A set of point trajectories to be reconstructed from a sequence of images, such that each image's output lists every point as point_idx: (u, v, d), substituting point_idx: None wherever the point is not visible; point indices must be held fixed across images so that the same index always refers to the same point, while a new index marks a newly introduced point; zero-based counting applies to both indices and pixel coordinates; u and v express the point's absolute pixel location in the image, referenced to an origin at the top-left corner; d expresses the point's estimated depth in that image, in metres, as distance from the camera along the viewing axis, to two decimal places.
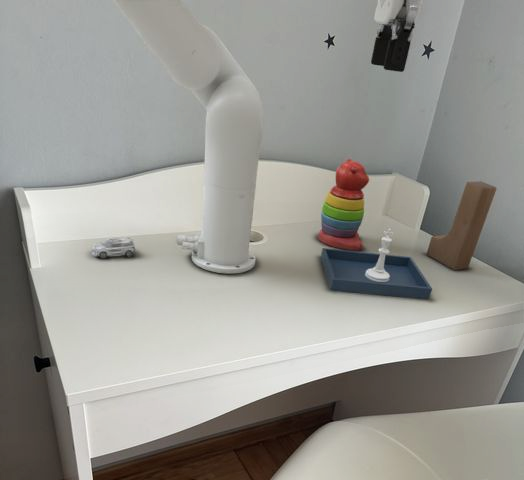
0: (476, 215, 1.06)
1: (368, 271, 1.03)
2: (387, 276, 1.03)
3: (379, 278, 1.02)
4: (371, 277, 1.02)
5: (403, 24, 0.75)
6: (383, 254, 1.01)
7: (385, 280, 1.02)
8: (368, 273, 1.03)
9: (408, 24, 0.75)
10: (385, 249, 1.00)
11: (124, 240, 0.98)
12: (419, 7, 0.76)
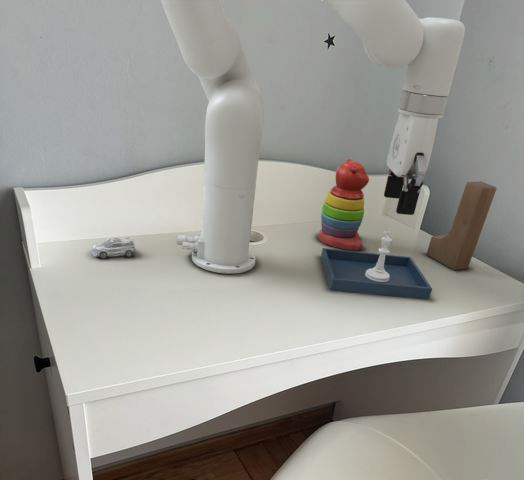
0: (476, 215, 1.06)
1: (368, 271, 1.03)
2: (387, 276, 1.03)
3: (379, 278, 1.02)
4: (371, 277, 1.02)
5: (413, 183, 0.86)
6: (383, 254, 1.01)
7: (385, 280, 1.02)
8: (368, 273, 1.03)
9: (417, 183, 0.86)
10: (385, 249, 1.00)
11: (124, 240, 0.98)
12: (427, 165, 0.88)
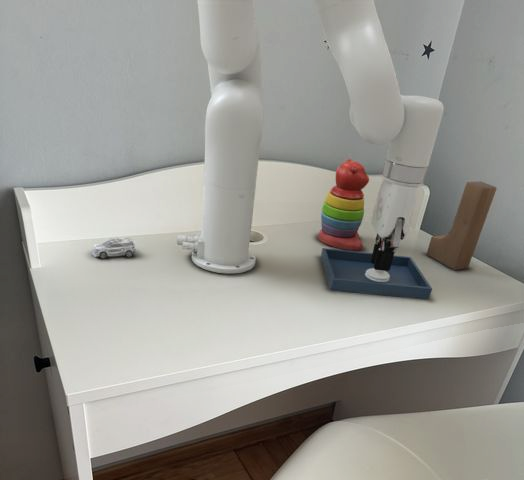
0: (476, 215, 1.06)
1: (368, 271, 1.03)
2: (387, 276, 1.03)
3: (379, 278, 1.02)
4: (371, 277, 1.02)
5: (387, 246, 0.96)
6: None
7: (385, 280, 1.02)
8: (368, 273, 1.03)
9: None
10: None
11: (124, 240, 0.98)
12: (407, 229, 0.94)
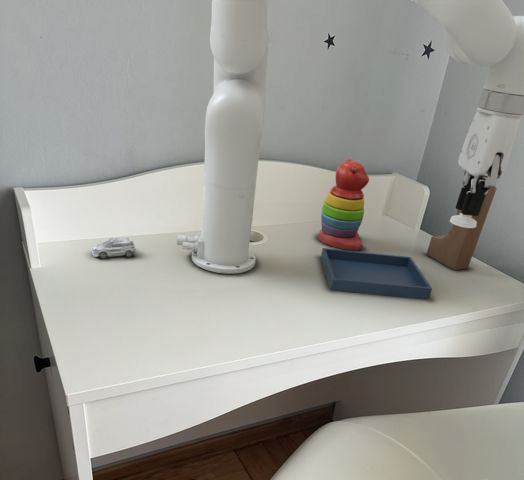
0: None
1: (454, 217, 0.97)
2: (475, 222, 0.96)
3: (467, 223, 0.95)
4: (458, 223, 0.96)
5: (481, 186, 0.90)
6: None
7: (473, 226, 0.96)
8: (454, 219, 0.96)
9: None
10: None
11: (124, 240, 0.98)
12: (505, 165, 0.87)
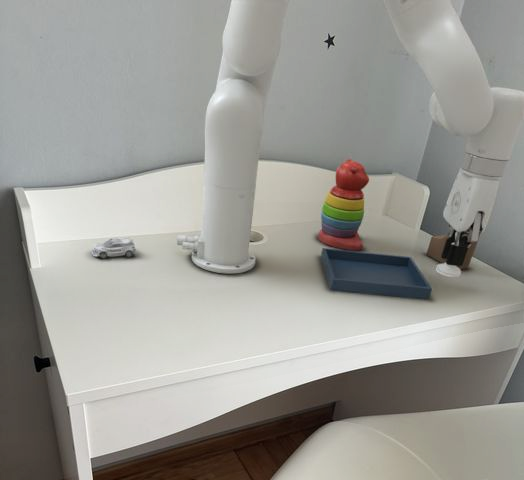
0: None
1: (439, 266, 1.02)
2: (459, 271, 1.01)
3: (451, 273, 1.00)
4: (443, 272, 1.01)
5: (464, 241, 0.95)
6: None
7: (457, 275, 1.01)
8: (439, 268, 1.02)
9: None
10: None
11: (124, 240, 0.98)
12: (486, 223, 0.92)
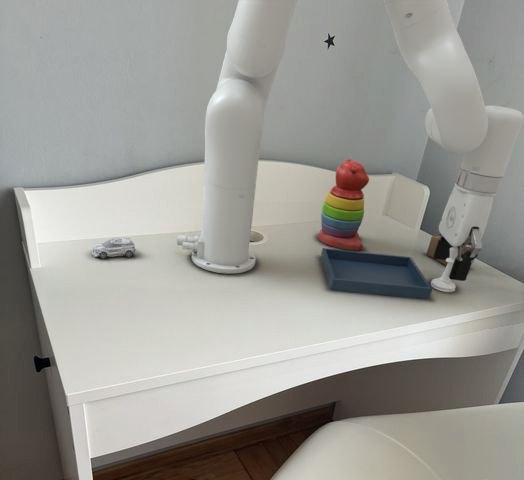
0: None
1: (434, 281, 1.04)
2: (453, 286, 1.03)
3: (446, 288, 1.02)
4: (438, 287, 1.03)
5: (468, 254, 0.93)
6: (450, 264, 1.01)
7: (452, 290, 1.03)
8: (434, 283, 1.03)
9: (473, 255, 0.93)
10: (453, 259, 1.01)
11: (124, 240, 0.98)
12: (481, 238, 0.94)
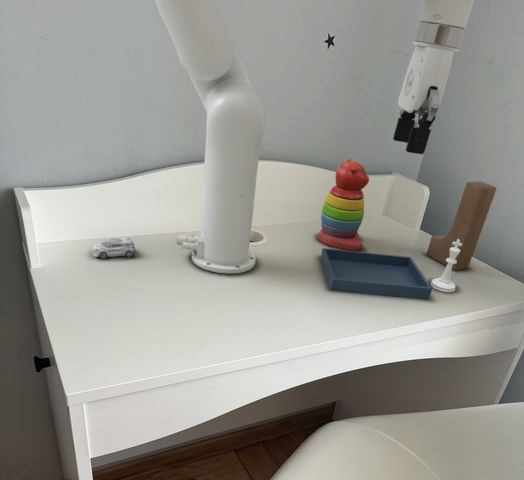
0: (476, 215, 1.06)
1: (434, 281, 1.04)
2: (453, 286, 1.03)
3: (446, 288, 1.02)
4: (438, 287, 1.03)
5: (425, 117, 0.84)
6: (450, 264, 1.01)
7: (452, 290, 1.03)
8: (434, 283, 1.03)
9: (430, 117, 0.84)
10: (453, 259, 1.01)
11: (124, 240, 0.98)
12: (440, 101, 0.86)
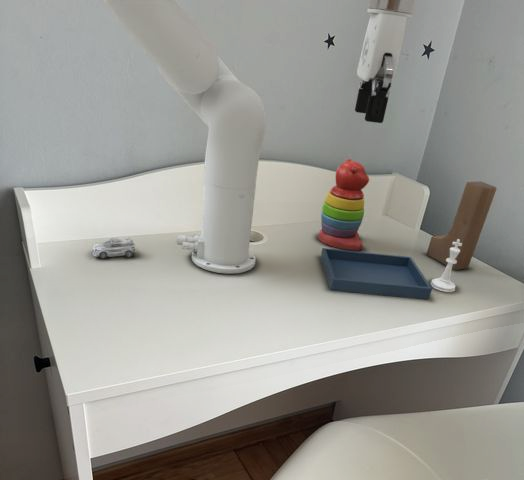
0: (476, 215, 1.06)
1: (434, 281, 1.04)
2: (453, 286, 1.03)
3: (446, 288, 1.02)
4: (438, 287, 1.03)
5: (381, 84, 0.85)
6: (450, 264, 1.01)
7: (452, 290, 1.03)
8: (434, 283, 1.03)
9: (385, 84, 0.84)
10: (453, 259, 1.01)
11: (124, 240, 0.98)
12: (395, 68, 0.86)
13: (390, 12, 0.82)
